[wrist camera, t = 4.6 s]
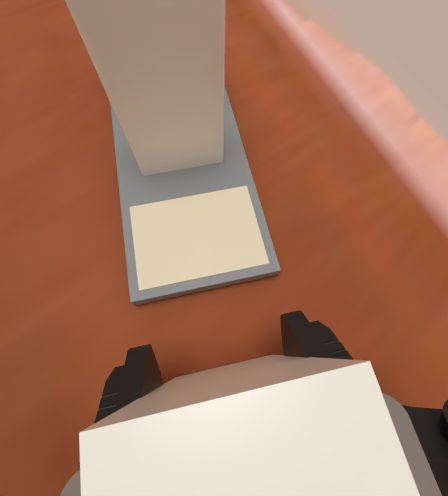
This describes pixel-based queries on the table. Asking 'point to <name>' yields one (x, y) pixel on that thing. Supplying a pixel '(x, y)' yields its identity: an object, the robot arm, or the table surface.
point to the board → (192, 222)
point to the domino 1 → (161, 75)
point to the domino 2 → (252, 435)
